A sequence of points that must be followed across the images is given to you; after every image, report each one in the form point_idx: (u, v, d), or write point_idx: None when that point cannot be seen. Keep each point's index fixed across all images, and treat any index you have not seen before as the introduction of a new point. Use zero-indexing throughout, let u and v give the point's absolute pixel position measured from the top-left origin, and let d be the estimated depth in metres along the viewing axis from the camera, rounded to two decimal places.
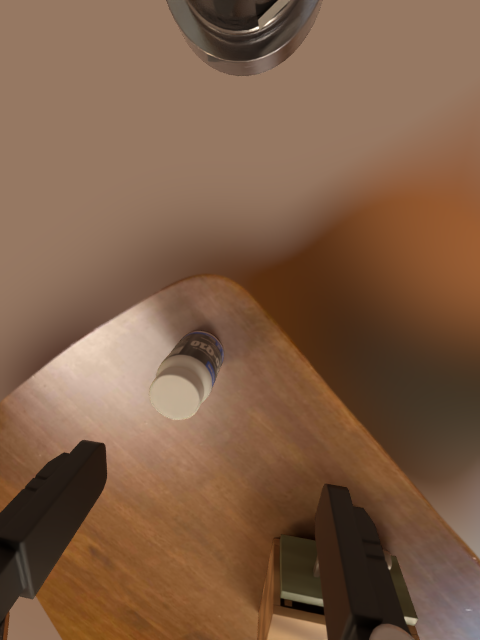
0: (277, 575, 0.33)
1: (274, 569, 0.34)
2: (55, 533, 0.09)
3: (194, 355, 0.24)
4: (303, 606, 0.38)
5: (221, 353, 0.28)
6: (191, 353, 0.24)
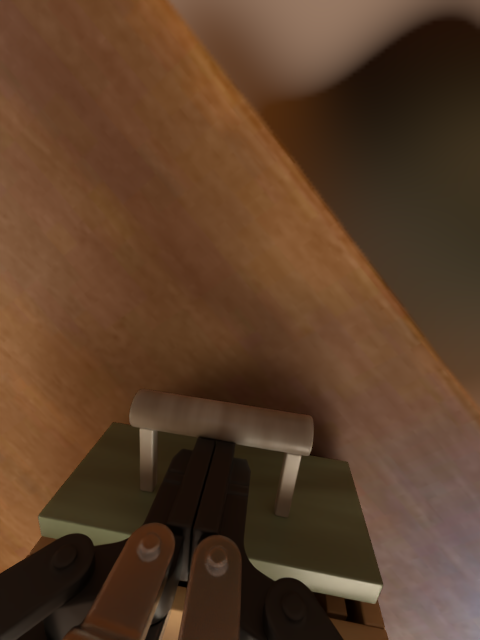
0: None
1: None
2: None
3: None
4: None
5: None
6: None
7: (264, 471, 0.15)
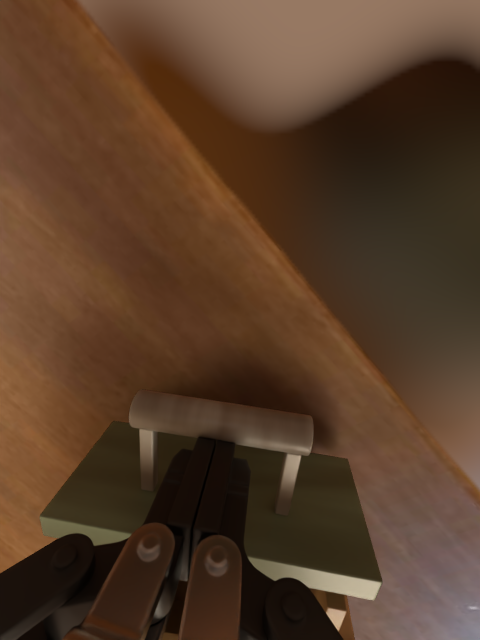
0: None
1: None
2: None
3: None
4: None
5: None
6: None
7: (264, 469, 0.15)
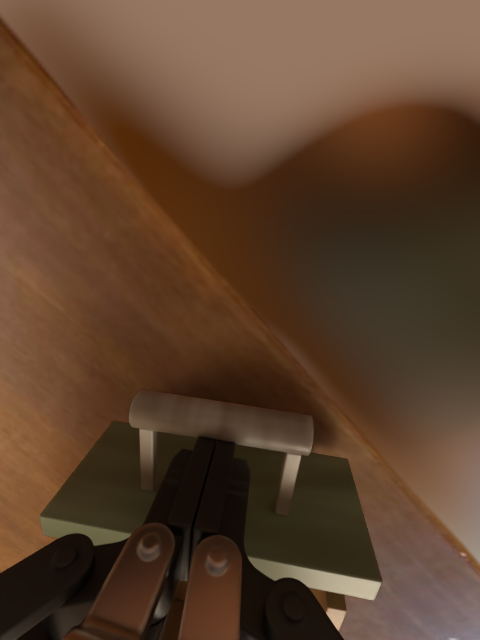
0: None
1: None
2: None
3: None
4: None
5: None
6: None
7: (264, 469, 0.15)
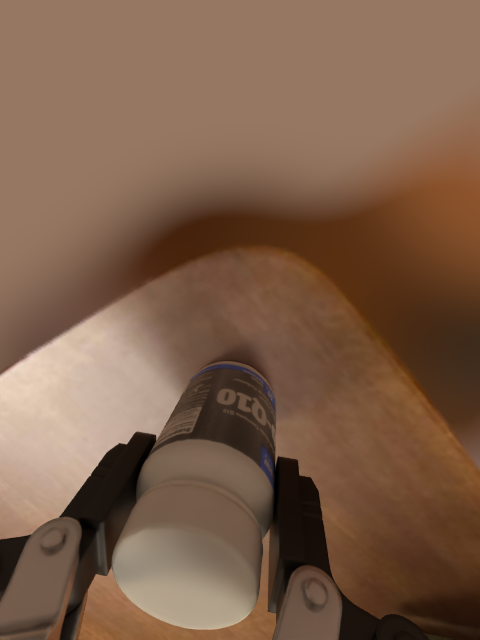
0: None
1: None
2: (122, 516, 0.09)
3: (230, 439, 0.10)
4: None
5: (274, 408, 0.14)
6: (222, 432, 0.10)
7: None
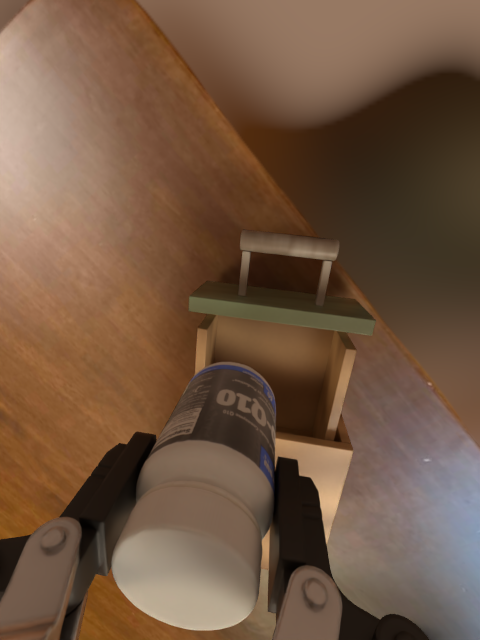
0: None
1: None
2: (122, 516, 0.09)
3: (230, 440, 0.10)
4: None
5: (274, 409, 0.14)
6: (222, 433, 0.10)
7: (305, 297, 0.25)
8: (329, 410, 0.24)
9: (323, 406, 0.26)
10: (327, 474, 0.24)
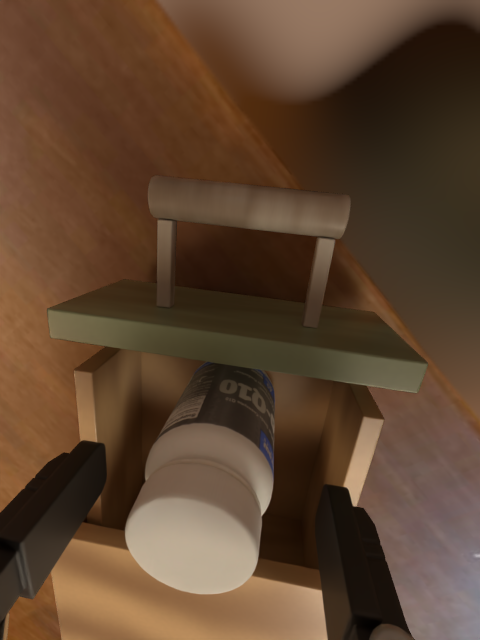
0: None
1: None
2: (55, 533, 0.09)
3: (232, 423, 0.10)
4: None
5: (273, 399, 0.15)
6: (225, 417, 0.11)
7: (287, 309, 0.14)
8: None
9: (318, 495, 0.15)
10: (324, 633, 0.13)
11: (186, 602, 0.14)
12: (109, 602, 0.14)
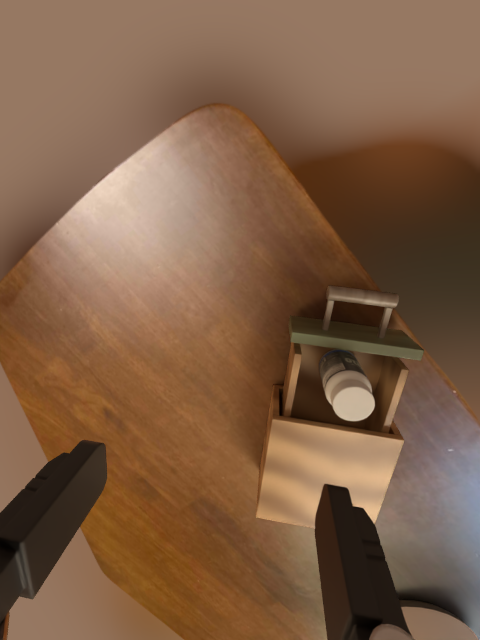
0: (276, 401, 0.37)
1: (274, 398, 0.38)
2: (55, 533, 0.09)
3: (358, 371, 0.31)
4: (311, 398, 0.39)
5: None
6: (355, 369, 0.31)
7: (367, 329, 0.34)
8: (385, 412, 0.34)
9: (377, 409, 0.36)
10: (383, 457, 0.34)
11: (327, 448, 0.34)
12: (292, 451, 0.35)
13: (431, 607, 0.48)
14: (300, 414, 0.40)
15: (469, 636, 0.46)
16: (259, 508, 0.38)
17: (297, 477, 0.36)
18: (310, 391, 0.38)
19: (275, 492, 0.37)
